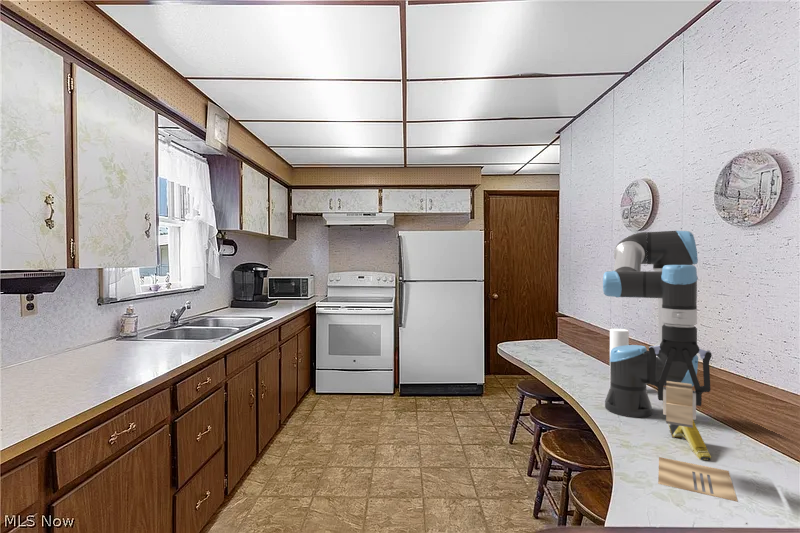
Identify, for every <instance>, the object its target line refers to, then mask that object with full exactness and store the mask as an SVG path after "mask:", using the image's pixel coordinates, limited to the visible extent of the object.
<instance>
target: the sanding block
mask: <svg viewBox="0 0 800 533" xmlns="http://www.w3.org/2000/svg"><path fill="white" fill-rule="evenodd" d="M665 387H666V415H665V421H666V422H665V424H673V425H679V426H685V427H691V428H693V420H694V419H693V391H694V390H693V387H692V384H688V383H680V382H672V381H667V382H666V386H665Z"/></svg>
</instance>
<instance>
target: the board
mask: <svg viewBox="0 0 800 533" xmlns="http://www.w3.org/2000/svg"><path fill="white" fill-rule="evenodd" d="M657 475H658V482H657V483H658V484H659V485H662V486H666V487H671V488H676V489H679V490H684V491H689V492H694V493H696V494H697V493H698V494H701V495H707V496H710V497H715V498H718V499H719V498H720V499H722V500H723V499H724V500H729V501H733V502H737V503H739V501H738V498H737V494H736V491H735V488H734V484H733V481H732V478H731V474H730V471H729V470H726V469H721V468H715V467H711V466H705V465H703V464H702V465H701V464H696V463H691V462H686V461H681V460H676V459H672V458H666V457H660V456H658V474H657Z"/></svg>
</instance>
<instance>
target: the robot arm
mask: <svg viewBox="0 0 800 533" xmlns="http://www.w3.org/2000/svg"><path fill="white" fill-rule="evenodd" d="M613 257H614V260H615V262H614V265H613V270H611V271H605V272H604V273H603V276H602V290H603V295H605V297H612V298H645V299H658V300H657V302H658V306H657V308H658V309H657V310H658V313H657V314H658V318H657V319H658V320H657V322H658V324H657V326H658V331H657V332H658V334H657V335H658V338H657V343H655V344H654V345H649V347H648V349H647V347H646V346H644V345H639V344H629V345H624V346H618V347H615V348H613V349H612V350H611V353H610V352H609V390H608V392H607V394H606V397H605V400H604V407H605V409H606V410H607V411H609V412H611V413H613V414H616V415H619V416H625V417H631V418H646V417H650V416H652V414H653V406H652V404H651V400H650V398H649V395H648V392H647V385H651V386H655V387H657V399H658V401H662V415H665V416H666V382H667V381H672V382H680V383H688V384H692V388H694V390H693V420H694V421H696V420H697V407H701V406H702V404H703V403H702V394H704V393H710V392H711V373H710V372H711V371H710V361H711V359H712V357H713V354H712V352H711V350H705V349H702V348H700V347H699V345H698V328H697V326H696V325H697V324H698V307H697V302H698V301H697V300H698V298H697V295H698V280H699V279H698V278H699V277H698V271H697V267H696V266H695V265H697V264H698V263H699V260H698V258H699V257H698V250H697V243H696V240H695V236H694V233H692V232H691V231H689V230H664V231H641V232H637V233H633V234H631V235H629V236H627V237H625V238H623V239H622V240H620V241H619V242H618V243H617V244H616V246H615V248H614V251H613ZM642 265H652V267H653V268H652V270H653V271H646V270H645V271H644V270H642ZM697 354H699V355H697ZM699 357H700V358H701V359H702V372H703V374H702V375H703V385H700V384H701V383H700V381H699V379H698V375H697V374H698V367H699V365H698V364H699Z"/></svg>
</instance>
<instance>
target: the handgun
mask: <svg viewBox="0 0 800 533" xmlns="http://www.w3.org/2000/svg"><path fill="white" fill-rule="evenodd" d="M668 428H669V433H670V435H671V438H672V439H676V440H683V437H684V438H685V440H686V441H687V443H688V445H689V447H690V449H691V452H693V454H694V455H695V456H696V457H697V458H698V459H699V460H701V461H707V462H708V461H711V459H712V456H711V454H710V452H709V450H708V448H707V445H706V443H705V442H704V441H705V440H704V439H703V437H702V435H701V433H700V430H698V427H697V426H696V423H695V419H693V428H691V427H685V426H679V425H673V424H668Z"/></svg>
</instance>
